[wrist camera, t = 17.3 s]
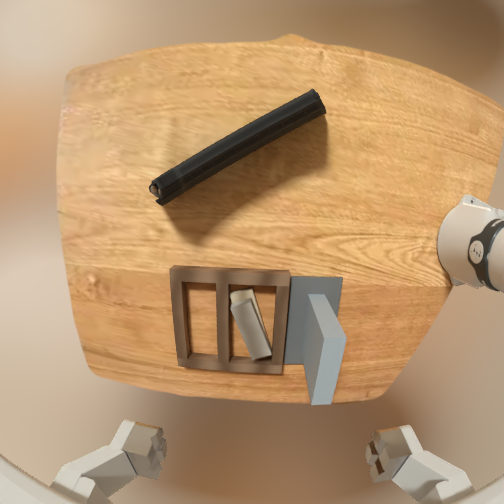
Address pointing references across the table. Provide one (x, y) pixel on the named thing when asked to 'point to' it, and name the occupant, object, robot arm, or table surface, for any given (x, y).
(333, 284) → the mat
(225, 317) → the rack
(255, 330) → the offcut upper
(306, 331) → the sheet
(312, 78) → the table surface
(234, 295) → the offcut lower
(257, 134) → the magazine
